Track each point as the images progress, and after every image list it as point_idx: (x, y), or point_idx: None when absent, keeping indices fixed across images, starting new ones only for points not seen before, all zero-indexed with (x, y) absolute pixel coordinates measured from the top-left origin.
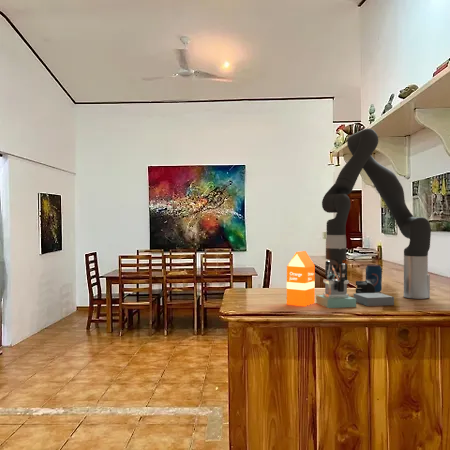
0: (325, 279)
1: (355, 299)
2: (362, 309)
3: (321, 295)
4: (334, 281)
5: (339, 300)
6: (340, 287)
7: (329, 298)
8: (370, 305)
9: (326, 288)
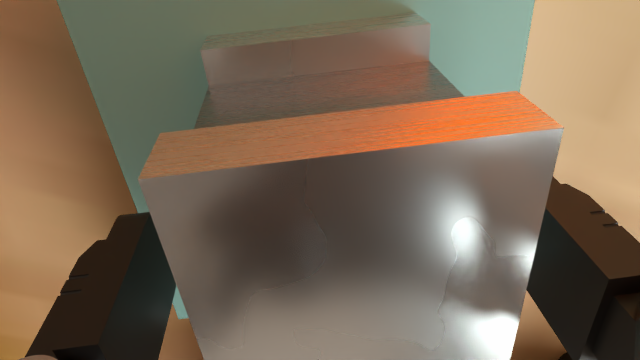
0: (515, 179)
1: (176, 308)
2: (68, 274)
3: (483, 4)
4: (189, 300)
5: (122, 148)
6: (67, 283)
7: (185, 41)
8: None
9: (399, 96)
